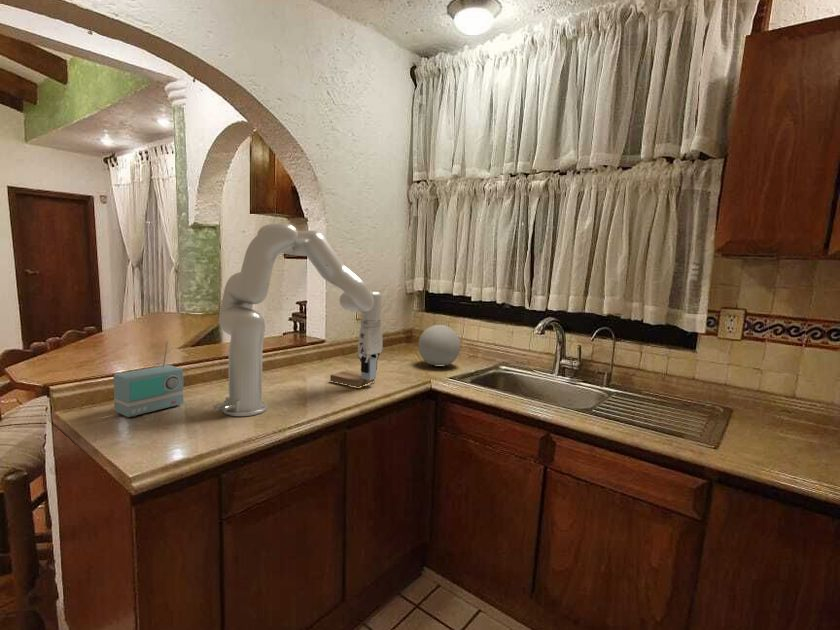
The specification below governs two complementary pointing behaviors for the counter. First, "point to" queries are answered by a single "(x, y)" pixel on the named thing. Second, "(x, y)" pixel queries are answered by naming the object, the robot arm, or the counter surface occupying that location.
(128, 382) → the radio
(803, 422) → the counter surface
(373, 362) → the block
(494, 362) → the counter surface
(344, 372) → the brown box
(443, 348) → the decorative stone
